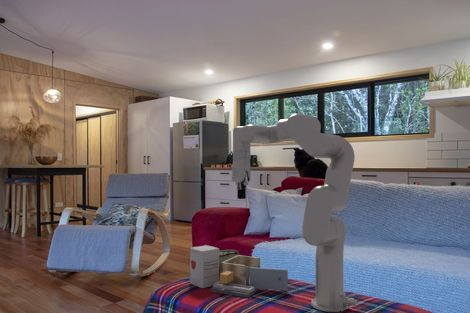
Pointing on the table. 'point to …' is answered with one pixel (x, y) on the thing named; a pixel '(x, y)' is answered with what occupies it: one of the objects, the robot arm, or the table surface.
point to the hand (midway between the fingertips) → (241, 198)
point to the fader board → (234, 289)
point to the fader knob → (226, 277)
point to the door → (267, 278)
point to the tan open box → (239, 267)
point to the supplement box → (204, 266)
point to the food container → (226, 255)
